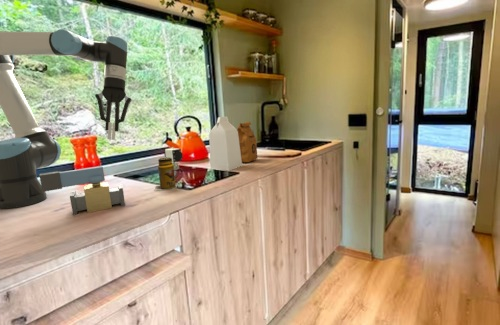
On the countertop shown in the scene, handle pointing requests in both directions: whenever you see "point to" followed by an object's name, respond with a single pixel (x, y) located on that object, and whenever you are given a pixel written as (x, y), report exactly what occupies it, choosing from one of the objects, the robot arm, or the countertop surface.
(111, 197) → the ball valve
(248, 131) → the coffee package
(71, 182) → the lever
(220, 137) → the milk
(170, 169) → the condiment
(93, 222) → the countertop surface
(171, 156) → the pneumatic valve
